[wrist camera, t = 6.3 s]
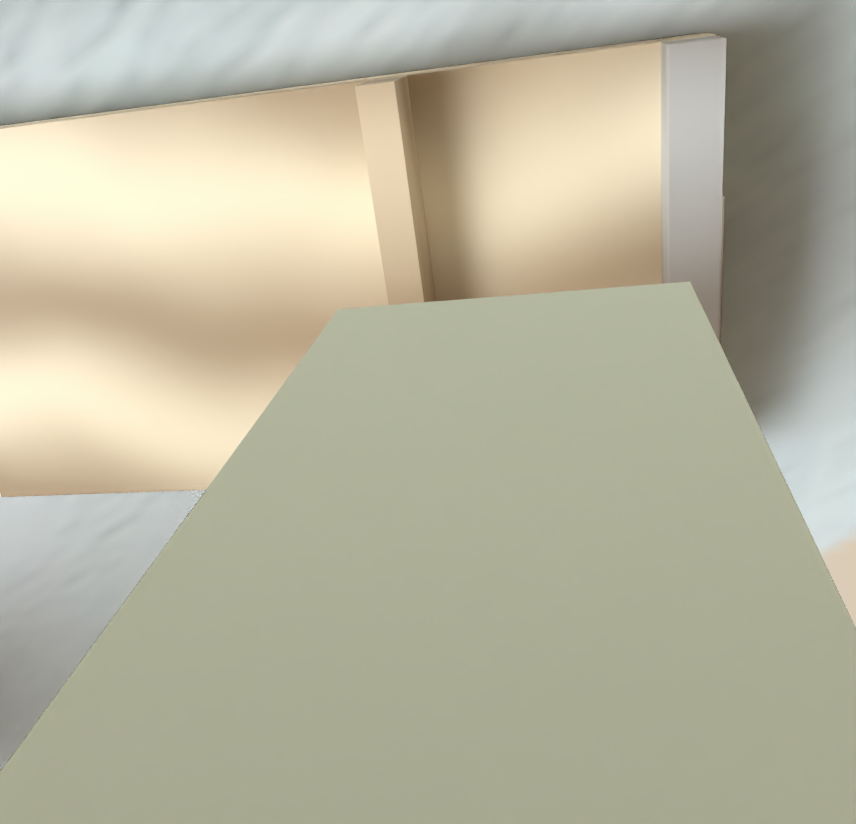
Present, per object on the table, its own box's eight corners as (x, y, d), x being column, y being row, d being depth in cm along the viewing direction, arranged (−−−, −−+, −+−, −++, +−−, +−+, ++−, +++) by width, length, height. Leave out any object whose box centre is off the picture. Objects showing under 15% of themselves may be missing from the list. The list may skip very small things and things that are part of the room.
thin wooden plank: (-98, 138, 21) (-193, 158, 18) (708, 32, 17) (735, 36, 15) (31, 471, 25) (-31, 525, 23) (700, 443, 22) (720, 504, 19)
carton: (407, 689, 12) (197, 1642, 5) (338, 308, 10) (-286, 1164, 2) (688, 692, 11) (904, 1817, 4) (694, 280, 9) (1243, 1383, 2)
